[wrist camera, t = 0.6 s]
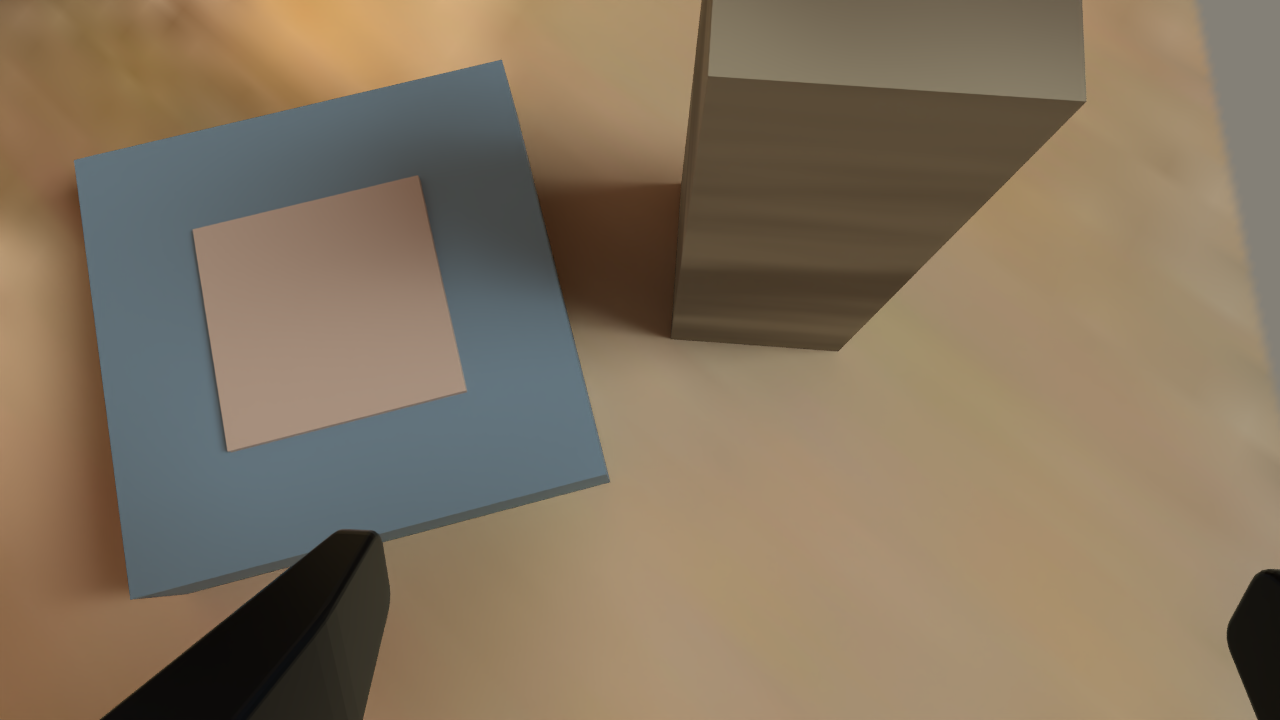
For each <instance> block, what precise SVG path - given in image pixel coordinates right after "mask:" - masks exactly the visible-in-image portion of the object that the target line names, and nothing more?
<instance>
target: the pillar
mask: <svg viewBox="0 0 1280 720" xmlns="http://www.w3.org/2000/svg"><path fill="white" fill-rule="evenodd" d="M1085 102H1086V81H1085V58H1084V35H1083V11H1082V0H702V2H701V11H700V20H699V29H698V38H697V47H696V56H695V65H694V74H693V83H692V92H691V101H690V110H689V119H688V128H687V137H686V146H685V155H684V164H683V173H682V182H681V196H680V210H679V225H678V239H677V254H676V268H675V283H674V297H673V312H672V326H671V339H679V340H693V341H707V342H720V343H734V344H748V345H762V346H776V347H790V348H803V349H817V350H831V351H839V350H840V349H841V348H842V347H843V346H844V345H845V344H846V343H847V342H848V341H849V340H850V339H851V338H852V337H853V336H854V335H855V334H856V333H857V332H858V331H859V330H860V329H861V328H862V327H863V326H864V325H865V324H866V323H867V322H868V321H869V320H870V319H871V318H872V317H873V316H874V315H875V314H876V313H877V312H878V311H879V310H880V309H881V308H882V307H883V306H884V305H885V304H886V303H887V302H888V301H889V300H890V299H891V298H892V297H893V296H894V295H895V294H896V293H897V292H898V291H899V290H900V289H901V288H902V287H903V286H904V285H905V284H906V283H907V282H908V280H909V279H910V278H911V277H912V276H913V275H914V274H915V273H916V272H917V271H918V270H919V269H920V268H921V267H922V266H923V265H924V264H925V263H926V262H927V261H928V260H929V259H930V258H931V257H932V256H933V255H934V254H935V253H936V252H937V251H938V250H939V249H940V248H941V247H942V246H943V245H944V244H945V243H946V242H947V241H948V240H949V239H950V238H951V237H952V236H953V235H954V234H955V233H956V232H957V231H958V230H959V229H960V228H961V227H962V226H963V225H964V224H965V223H966V222H967V221H968V220H969V219H970V218H971V217H972V216H973V215H974V214H975V213H976V212H977V211H978V210H979V209H980V208H981V207H982V206H983V205H984V204H985V203H986V202H987V201H988V200H989V199H990V198H991V197H992V196H993V195H994V194H995V193H996V192H997V191H998V190H999V189H1000V188H1001V187H1002V186H1003V185H1004V184H1005V183H1006V182H1007V181H1008V180H1009V179H1010V178H1011V177H1012V176H1013V175H1014V174H1015V173H1016V172H1017V171H1018V170H1019V169H1020V168H1021V167H1022V166H1023V165H1024V164H1025V163H1026V162H1027V161H1028V160H1029V159H1030V158H1031V157H1032V156H1033V155H1034V154H1035V153H1036V152H1037V151H1038V150H1039V149H1040V148H1041V147H1042V146H1043V145H1044V144H1045V143H1046V142H1047V141H1048V140H1049V139H1050V138H1051V137H1052V136H1053V135H1054V134H1055V133H1056V132H1057V131H1058V130H1059V128H1060V127H1061V126H1062V125H1063V124H1064V123H1065V122H1066V121H1067V120H1068V119H1069V118H1070V117H1071V116H1072V115H1073V114H1074V113H1075V112H1076V111H1077V110H1078V109H1079V108H1080V107H1081V106H1082V105H1083V104H1084V103H1085Z"/></svg>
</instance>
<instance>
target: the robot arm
mask: <svg viewBox="0 0 1280 720" xmlns="http://www.w3.org/2000/svg"><path fill="white" fill-rule="evenodd" d="M389 604H390V585H389V579H388V573H387V567H386V561H385V555H384V549H383V543H382V539H381V537H380V535H379V534H378V533H377V532H375V531H373V530H356V529H341V530H338V531H336V532H334V533H333V534H331V535H330V536H329V537H327V538H326V539H325V540H324V541H322V542H321V543H320V544H319V545H317V546H316V547H315V548H314V549H312V550H311V551H310V552H309V553H307V554H306V555H305V556H304V557H302V558H301V559H300V560H299V561H297V562H296V563H295V564H294V565H292V566H291V567H290V568H289V569H287V570H286V571H285V572H284V573H282V574H281V575H280V576H279V577H277V578H276V579H275V580H274V581H272V582H271V583H270V584H269V585H267V586H266V587H265V588H264V589H262V590H261V591H260V592H259V593H257V594H256V595H255V596H254V597H252V598H251V599H250V600H249V601H247V602H246V603H245V604H244V605H242V606H241V607H240V608H239V609H237V610H236V611H235V612H234V613H232V614H231V615H230V616H229V617H227V618H226V619H225V620H224V621H222V622H221V623H220V624H219V625H217V626H216V627H215V628H214V629H212V630H211V631H210V632H209V633H207V634H206V635H205V636H204V637H202V638H201V639H200V640H199V641H197V642H196V643H195V644H194V645H192V646H191V647H190V648H189V649H187V650H186V651H185V652H184V653H182V654H181V655H180V656H179V657H177V658H176V659H175V660H174V661H172V662H171V663H170V664H169V665H167V666H166V667H165V668H164V669H162V670H161V671H160V672H159V673H157V674H156V675H155V676H154V677H152V678H151V679H150V680H149V681H147V682H146V683H145V684H144V685H142V686H141V687H140V688H139V689H137V690H136V691H135V692H134V693H132V694H131V695H130V696H129V697H127V698H126V699H125V700H124V701H122V702H121V703H120V704H119V705H117V706H116V707H115V708H114V709H112V710H111V711H110V712H109V713H107V714H106V715H105V716H104V717H102V718H101V719H100V720H363V716H364V712H365V708H366V703H367V699H368V695H369V691H370V687H371V682H372V678H373V674H374V670H375V665H376V661H377V657H378V653H379V649H380V644H381V640H382V636H383V632H384V628H385V623H386V619H387V615H388V610H389ZM1227 642H1228V647H1229V650H1230V653H1231V655H1232V658H1233V660H1234V663H1235V665H1236V668H1237V670H1238V673H1239V675H1240V678H1241V680H1242V682H1243V685H1244V687H1245V690H1246V692H1247V695H1248V697H1249V700H1250V702H1251V705H1252V707H1253V710H1254V712H1255V714H1256V717H1257V719H1258V720H1280V569H1266V570H1262V571H1261V572H1259V573H1258V574H1256V575H1255V576H1254V577H1253V579H1252V581H1251V582H1250V584H1249V586H1248V588H1247V590H1246V592H1245V593H1244V595H1243V597H1242V599H1241V601H1240V603H1239V604H1238V606H1237V608H1236V610H1235V612H1234V614H1233V616H1232V617H1231V619H1230V621H1229V624H1228V628H1227Z"/></svg>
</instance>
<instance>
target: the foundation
mask: <svg viewBox="0 0 1280 720" xmlns="http://www.w3.org/2000/svg"><path fill="white" fill-rule="evenodd" d="M74 163H75V171H76V179H77V187H78V195H79V202H80V210H81V218H82V226H83V234H84V241H85V249H86V257H87V265H88V273H89V280H90V288H91V296H92V304H93V312H94V319H95V327H96V335H97V343H98V351H99V358H100V366H101V374H102V382H103V390H104V397H105V405H106V413H107V421H108V429H109V437H110V444H111V452H112V460H113V468H114V476H115V483H116V491H117V499H118V507H119V515H120V522H121V530H122V538H123V546H124V554H125V561H126V569H127V577H128V585H129V593H130V600H131V599H142V598H152V597H162V596H172V595H183V594H189V593H192V592H196V591H200V590H204V589H208V588H211V587H215V586H219V585H223V584H226V583H230V582H234V581H238V580H242V579H245V578H249V577H253V576H257V575H261V574H264V573H268V572H272V571H276V570H279V569H283V568H287V567H291V566H292V565H294V564H295V563H296V562H297V561H299V560H300V559H301V558H302V557H304V556H305V555H306V554H307V553H309V552H310V551H311V550H312V549H314V548H315V547H316V546H317V545H319V544H320V543H321V542H322V541H324V540H325V539H326V538H327V537H329V536H330V535H331V534H333V533H334V532H336V531H338V530H341V529H356V530H373V531H375V532H377V533H378V534H379V535H380V537H381V539H382V542H385V541H389V540H393V539H397V538H401V537H404V536H408V535H412V534H416V533H419V532H423V531H427V530H431V529H435V528H438V527H442V526H446V525H450V524H453V523H457V522H461V521H465V520H469V519H472V518H476V517H480V516H484V515H488V514H491V513H495V512H499V511H503V510H506V509H510V508H514V507H518V506H522V505H525V504H529V503H533V502H537V501H541V500H544V499H548V498H552V497H556V496H559V495H563V494H567V493H571V492H575V491H578V490H582V489H586V488H590V487H594V486H597V485H601V484H605V483H609V482H610V480H609V476H608V472H607V468H606V464H605V460H604V456H603V452H602V448H601V444H600V440H599V436H598V432H597V428H596V424H595V420H594V416H593V413H592V409H591V405H590V401H589V397H588V393H587V389H586V385H585V381H584V377H583V373H582V369H581V365H580V361H579V357H578V353H577V349H576V345H575V342H574V338H573V334H572V330H571V326H570V322H569V318H568V314H567V310H566V306H565V302H564V298H563V294H562V290H561V286H560V282H559V278H558V274H557V270H556V267H555V263H554V259H553V255H552V251H551V247H550V243H549V239H548V235H547V231H546V227H545V223H544V219H543V215H542V211H541V207H540V203H539V199H538V195H537V192H536V188H535V184H534V180H533V176H532V172H531V168H530V164H529V160H528V156H527V152H526V148H525V144H524V140H523V136H522V132H521V128H520V124H519V121H518V117H517V113H516V109H515V105H514V101H513V98H512V94H511V91H510V87H509V84H508V80H507V77H506V73H505V70H504V66H503V63H502V60H499V61H494V62H490V63H486V64H482V65H477V66H473V67H469V68H465V69H460V70H456V71H452V72H448V73H443V74H439V75H435V76H430V77H426V78H422V79H418V80H413V81H409V82H405V83H401V84H396V85H392V86H388V87H384V88H379V89H375V90H371V91H367V92H362V93H358V94H354V95H349V96H345V97H341V98H337V99H332V100H328V101H324V102H320V103H315V104H311V105H307V106H303V107H298V108H294V109H290V110H286V111H281V112H277V113H273V114H269V115H264V116H260V117H256V118H251V119H247V120H243V121H239V122H234V123H230V124H226V125H222V126H217V127H213V128H209V129H205V130H200V131H196V132H192V133H188V134H183V135H179V136H175V137H170V138H166V139H162V140H158V141H153V142H149V143H145V144H141V145H136V146H132V147H128V148H124V149H119V150H115V151H111V152H107V153H102V154H98V155H94V156H89V157H85V158H81V159H77V160H74Z"/></svg>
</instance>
